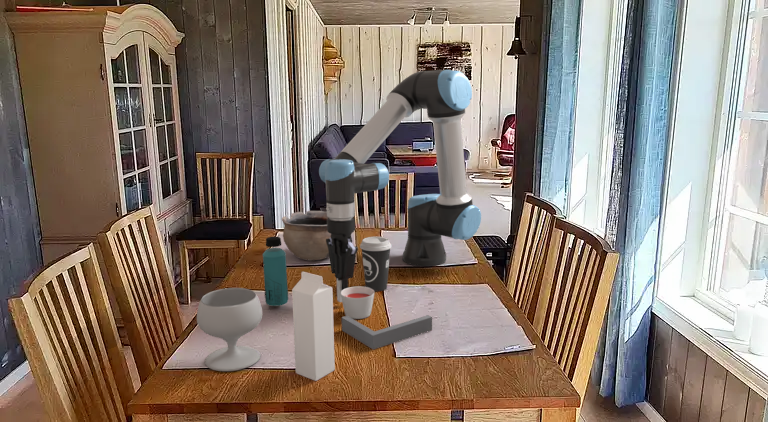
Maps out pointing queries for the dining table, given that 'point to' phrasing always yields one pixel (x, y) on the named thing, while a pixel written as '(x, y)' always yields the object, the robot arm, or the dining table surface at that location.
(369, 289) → the candle
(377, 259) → the coffee cup
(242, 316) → the chalice
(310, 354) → the milk
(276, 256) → the beverage bottle
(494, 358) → the dining table surface
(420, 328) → the corner fence
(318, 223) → the ceramic bowl
